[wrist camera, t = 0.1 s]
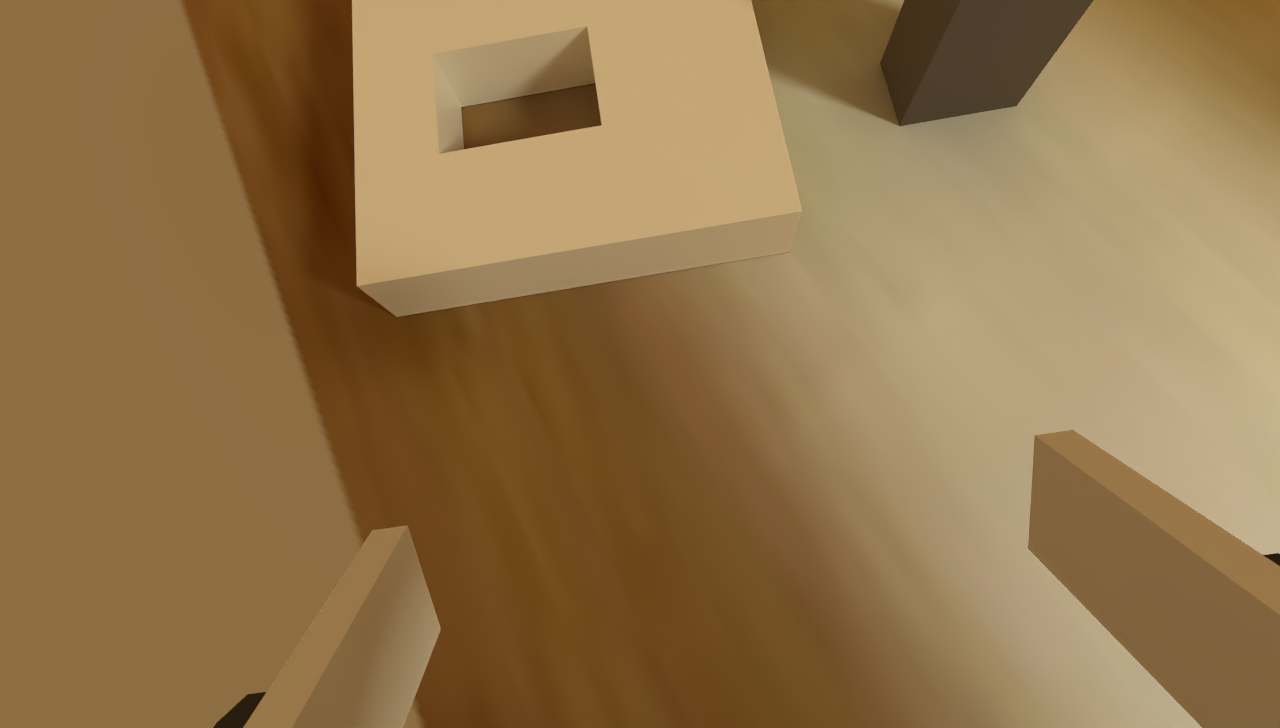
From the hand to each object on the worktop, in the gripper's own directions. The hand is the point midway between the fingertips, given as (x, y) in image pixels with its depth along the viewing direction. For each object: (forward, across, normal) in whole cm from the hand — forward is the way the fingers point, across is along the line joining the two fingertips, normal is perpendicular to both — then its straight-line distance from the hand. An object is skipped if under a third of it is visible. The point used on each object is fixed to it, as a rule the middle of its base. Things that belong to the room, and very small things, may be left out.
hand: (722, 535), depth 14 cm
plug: (+25, -16, -8) cm, 31 cm away
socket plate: (+25, +4, -9) cm, 27 cm away
